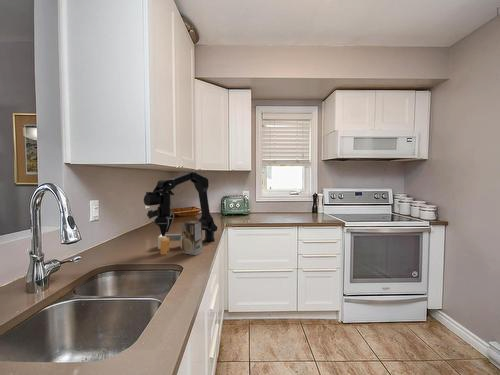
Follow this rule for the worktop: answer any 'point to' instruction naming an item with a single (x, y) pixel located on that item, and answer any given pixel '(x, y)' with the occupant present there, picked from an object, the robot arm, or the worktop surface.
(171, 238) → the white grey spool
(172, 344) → the worktop surface
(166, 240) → the orange u-channel
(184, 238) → the coffee box
